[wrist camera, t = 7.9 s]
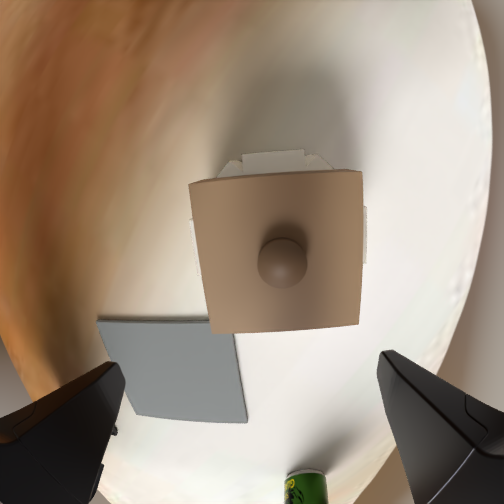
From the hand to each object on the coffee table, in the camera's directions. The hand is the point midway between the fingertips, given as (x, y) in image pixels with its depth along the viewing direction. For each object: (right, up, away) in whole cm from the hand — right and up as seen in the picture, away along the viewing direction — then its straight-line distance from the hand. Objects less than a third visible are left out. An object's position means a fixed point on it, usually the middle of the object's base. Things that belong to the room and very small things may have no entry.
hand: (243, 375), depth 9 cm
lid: (+2, +4, +6) cm, 8 cm away
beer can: (+7, -25, +20) cm, 33 cm away
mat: (-7, -7, +15) cm, 18 cm away
